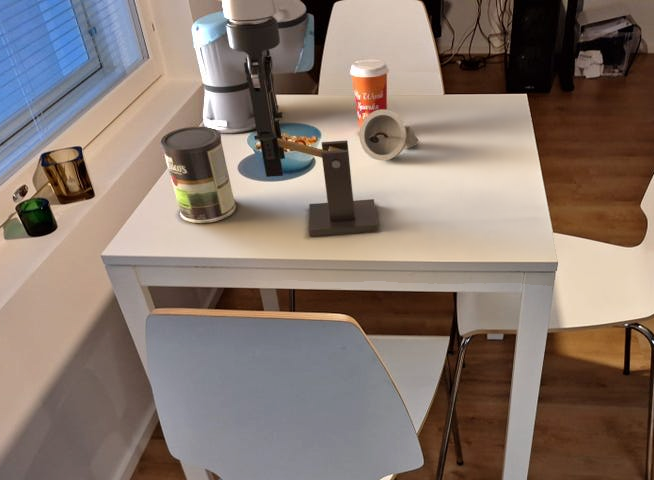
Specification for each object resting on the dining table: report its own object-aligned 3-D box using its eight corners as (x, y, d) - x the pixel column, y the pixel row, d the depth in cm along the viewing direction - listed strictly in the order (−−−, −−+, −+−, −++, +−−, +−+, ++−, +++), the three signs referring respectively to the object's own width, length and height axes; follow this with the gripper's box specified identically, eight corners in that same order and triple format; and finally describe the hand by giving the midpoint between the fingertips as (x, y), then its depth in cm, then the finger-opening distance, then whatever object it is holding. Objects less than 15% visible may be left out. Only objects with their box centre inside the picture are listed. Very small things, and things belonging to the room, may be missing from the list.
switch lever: (263, 153, 109) (266, 139, 107) (265, 138, 113) (268, 125, 112) (342, 173, 112) (346, 160, 111) (341, 158, 117) (345, 145, 115)
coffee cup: (350, 138, 150) (344, 69, 140) (361, 125, 156) (356, 57, 146) (386, 141, 148) (382, 71, 139) (396, 127, 154) (393, 59, 145)
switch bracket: (309, 236, 117) (298, 161, 108) (310, 210, 125) (299, 137, 116) (377, 231, 118) (372, 156, 109) (374, 205, 125) (368, 133, 117)
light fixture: (418, 166, 148) (422, 118, 145) (397, 160, 132) (402, 106, 130) (371, 162, 150) (375, 115, 148) (345, 155, 134) (349, 102, 132)
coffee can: (199, 229, 120) (178, 154, 111) (170, 211, 126) (149, 138, 117) (247, 209, 126) (231, 136, 116) (218, 192, 131) (200, 121, 122)
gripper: (231, 3, 105) (257, 145, 120) (217, 37, 91) (248, 193, 106) (279, 1, 106) (299, 142, 121) (272, 34, 91) (296, 190, 107)
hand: (275, 166), depth 113 cm, fingers closed on switch lever, 6 cm apart
